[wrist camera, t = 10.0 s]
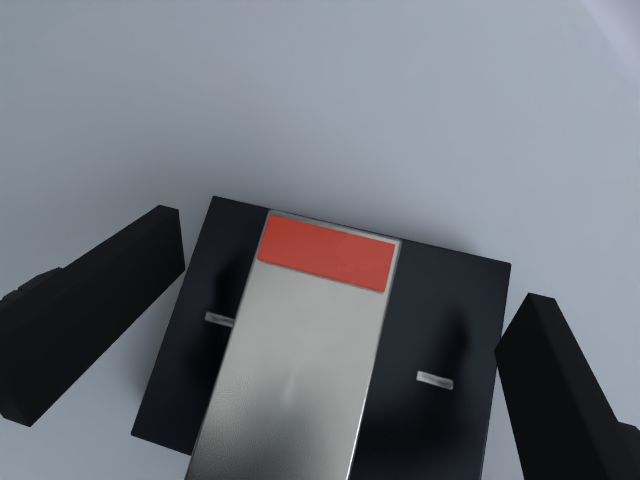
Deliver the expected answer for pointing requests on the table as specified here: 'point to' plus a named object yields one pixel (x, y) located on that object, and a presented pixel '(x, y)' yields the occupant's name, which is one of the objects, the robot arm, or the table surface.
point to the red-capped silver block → (298, 355)
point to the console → (391, 363)
